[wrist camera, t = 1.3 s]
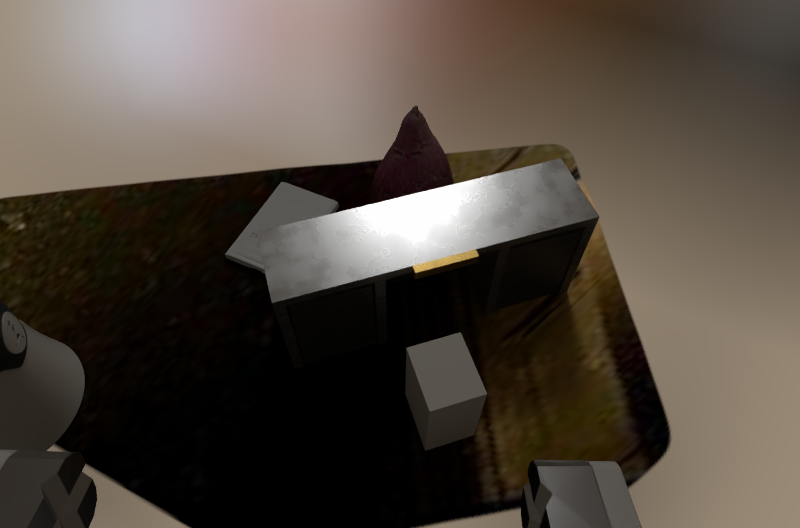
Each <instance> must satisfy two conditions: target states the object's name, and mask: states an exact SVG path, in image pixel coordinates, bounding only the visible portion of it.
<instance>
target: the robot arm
mask: <svg viewBox="0 0 800 528" xmlns="http://www.w3.org/2000/svg"><path fill="white" fill-rule="evenodd" d="M84 386H85V378H84V371H83V367H82V364H81V362H80V360H79V358H78V357H77V355H76V354H75V353H74V352H73V351H72V350H71V349H70V348H69V347H68V346H66V345H65V344H63V343H61V342H59V341H56V340H54V339H51V338H49V337H47V336H45V335H43V334H41V333H39V332H37V331H35V330H34V329H32V328H30V327H29V326H28V325H26V324H25V323H23V322H22V321H20V320H19V319H18V318H17V317H16V316H15V315H14V313H13V312H12V311H11V310H10V309H9V308H8V307H7V306H6V305H5V304H4V303H3V302H2V301H1V300H0V528H89V526H90V523H91V521H92V519H93V516H94V512H95V507H96V502H97V494H96V486H95V484H94V481H93V479H92V478H90V477H89V476H87V475H86V474H84V473H83V472H82V470H83V468H84V466H85V462H84V460H83V458H82V456H81V454H80V453H79V452H52V451H51V452H50V451H47V449H49V448H50V447H51V446H52V445H53V444H54V443H55V442H56V441H57V440H58V439H59V438H60V437H61V436H62V435H63V433H64V432H65V431H66V429H67V428H68V427H69V425H70V424H71V422H72V421H73V419H74V417H75V415H76V413H77V411H78V409H79V407H80V404H81V401H82V397H83V393H84ZM528 477H529V482H530V483H528V484H527V485H526V486H524V488H523V493H522V498H521V517H522V527H523V528H642V527H641V524H640V521H639V519H638V516H637V513H636V510H635V507H634V505H633V502H632V499H631V496H630V494H629V491H628V488H627V485H626V482H625V480H624V477H623V474H622V471H621V469H620V467H619V466H618V464H617V463H616V462H613V461H585V460H533V461H532V462H531V463H530V465H529V468H528Z"/></svg>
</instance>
